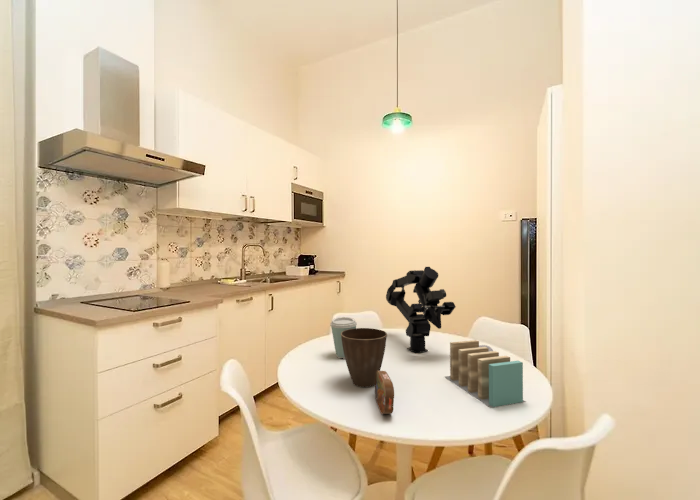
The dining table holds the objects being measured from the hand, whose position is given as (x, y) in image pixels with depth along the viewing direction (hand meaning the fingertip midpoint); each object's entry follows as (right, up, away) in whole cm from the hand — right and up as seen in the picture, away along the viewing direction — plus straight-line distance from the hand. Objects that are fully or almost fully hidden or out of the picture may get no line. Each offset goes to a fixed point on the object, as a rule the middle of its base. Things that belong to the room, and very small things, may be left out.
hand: (440, 328), depth 118 cm
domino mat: (+6, -13, -22) cm, 26 cm away
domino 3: (+7, -13, -23) cm, 27 cm away
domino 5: (+9, -13, -31) cm, 35 cm away
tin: (-25, -14, -32) cm, 42 cm away
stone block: (+18, -14, +7) cm, 24 cm away
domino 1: (+4, -13, -14) cm, 20 cm away
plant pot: (-29, -14, -17) cm, 36 cm away
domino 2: (+5, -13, -18) cm, 23 cm away
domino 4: (+8, -13, -27) cm, 31 cm away
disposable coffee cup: (-37, -14, +9) cm, 40 cm away
